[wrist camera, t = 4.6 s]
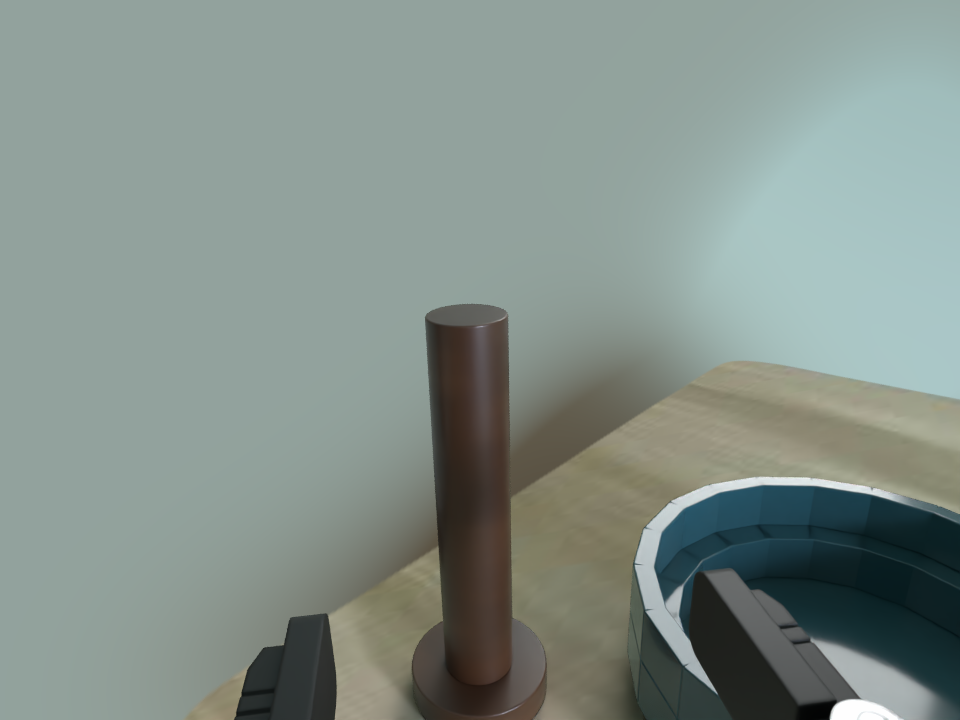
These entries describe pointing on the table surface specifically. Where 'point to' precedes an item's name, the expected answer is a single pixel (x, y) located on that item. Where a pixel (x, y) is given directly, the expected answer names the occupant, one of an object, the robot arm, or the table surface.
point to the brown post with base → (474, 530)
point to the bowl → (806, 589)
